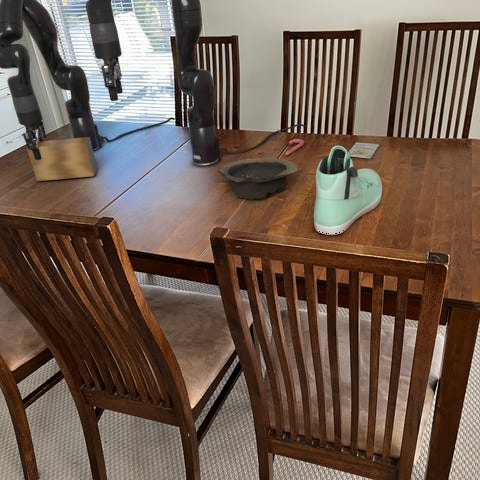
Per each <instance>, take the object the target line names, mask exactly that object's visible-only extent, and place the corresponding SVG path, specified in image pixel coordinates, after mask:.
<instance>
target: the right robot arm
mask: <svg viewBox="0 0 480 480" xmlns="http://www.w3.org/2000/svg"><path fill="white" fill-rule="evenodd" d="M170 1H171V2H170V3H171V13H172V20H173V28H174V35H175V45H176V55H177V56H176V57H177V81H178V87H179V89H180V91H181V92H182V93H183V94H184V95H186V96H189V97H192V105H191V106H189V107H188V108H187V109H186V116H187V124H188V131H189V132H188V133H189V139H190V148H191V155H192V164H193V165H194V166H196V167H211V166H214V165H216V164H217V163H218V162H220V161H221V155H223V154H224V152H225V153H226V154H228V155H234V154H241V153H246V152H248V151H252V150H254V149H256V148H258V147H260V146H261V145H263V144H264V143H266V142H267V141H268V139H270V138H271V137H273V136H274V135H276V134H278V133H281V132H285V131H287V130H290V129H294V128H295V127H303V128H307V126H306V124H303V123H297V124H294V125H291V126H289V127H285V128H282V129H278V130H276V131H274V132H272V133H270V134H268V135H267V136H266V138H264V139H263V140H262V141H261V142H259V143H257V144H256V145H254V146H252V147H249V148H245V149H242V150H238V151H228V149H227V148H225V147H222V146H220V142H219V141H220V140H219V135H217V133H216V125H215V124H216V123H215V115H214V110H215V106H216V98H215V97H216V96H215V82H214V79H213V78H214V77H213V76H212V73H211V72H210V71H208V70H207V69H203V68H198V64H197V46H198V43H199V40H200V37H201V33H202V31H203V14H202V13H203V12H202V4H201V0H170ZM85 10H86V16H87V20H88V24H89V33H90V38H91V43H92V48H93V52H94V56H95V58H96V59H97V60H102V61H103V64H102V65H101V66H100V69H101V73H102V77H103V78H102V79H103V83H104V87H105V88H106V89H107V90H108V96H109V100H110V101H111V102H117V101H118V100H119V94H123V92H124V90H123V85H122V76H123V73H122V70H121V65H120V59H119V58H120V57H121V56H122V54H123V52H122V48H121V43H120V37H119V32H118V28H117V25H116V21H115V15H114V11H113V10H114V9H113V5H112V0H86V2H85Z"/></svg>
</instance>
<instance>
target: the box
mask: <svg viewBox="0 0 480 480" xmlns="http://www.w3.org/2000/svg"><path fill="white" fill-rule="evenodd" d="M35 145H36V144H35ZM38 146H39V151H40V154H41V157H42V158H41V159H40V160H35V158H34V155H33V152H32V150H28V147H27V146H26V151H27V154H28V157H29V160H30V163H31V166H32V170H33V172H34V176H35V179H36V181H37V182H41V181H43V182H45V181H52V180H53V181H55V180H63V179H67V180H68V179H76V178H87V177H94V176H95V175H96V173H97V172H98V166H97V161H96V157H95V153H94V151H93V149H92V145H91V141H90V137H84V138H73V137H72V138H63V139H61V138H60V139H50V140H45V141H39V142H38Z"/></svg>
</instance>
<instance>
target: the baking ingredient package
mask: <svg viewBox="0 0 480 480" xmlns="http://www.w3.org/2000/svg"><path fill="white" fill-rule="evenodd" d="M379 147H380V144H377V143H369V142H357V141H356V142H355V143H354V144H353V146H352V147H351V148H350V149H349V151H347V152H348V153H349V156H350V157H352V158H361V159H371V158H372V157H373V156H374V154H375V152H376V150H377V149H378V148H379Z"/></svg>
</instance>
